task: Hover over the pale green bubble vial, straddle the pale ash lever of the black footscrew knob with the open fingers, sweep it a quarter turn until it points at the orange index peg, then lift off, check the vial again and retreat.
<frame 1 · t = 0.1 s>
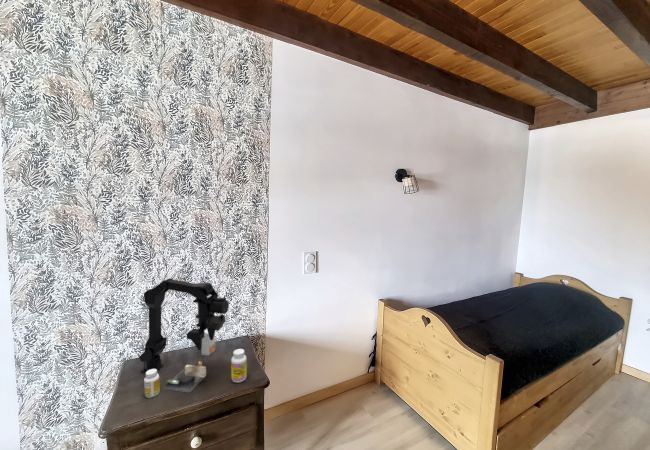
hand: (205, 344, 127), 15 cm above the nightstand, fingers open, 9 cm apart
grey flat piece: (186, 381, 123), on the nightstand
supplement bottle 2: (239, 379, 126), on the nightstand
skincare box: (208, 352, 147), on the nightstand
footscrew knob: (191, 372, 122), point 5 cm above the nightstand, hinge at 0.0°
supplement bottle: (152, 394, 115), on the nightstand
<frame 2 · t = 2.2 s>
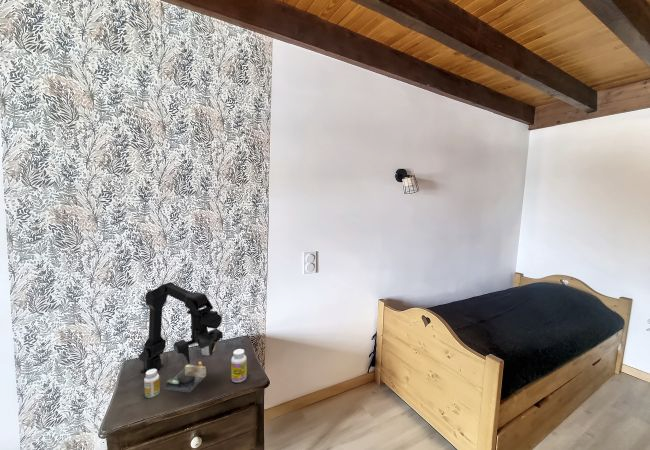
hand: (199, 359, 120), 12 cm above the nightstand, fingers open, 9 cm apart
nothing on the nightstand moved.
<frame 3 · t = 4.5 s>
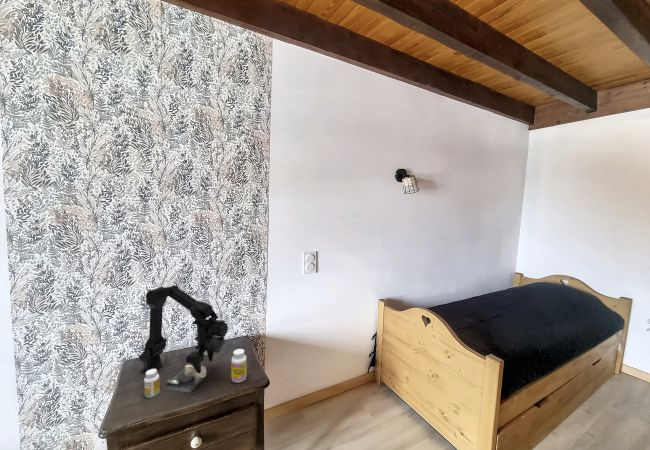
hand: (205, 366, 125), 5 cm above the nightstand, fingers open, 9 cm apart
footscrew knob: (191, 372, 122), point 5 cm above the nightstand, hinge at 0.0°, touching gripper
everything else where it was.
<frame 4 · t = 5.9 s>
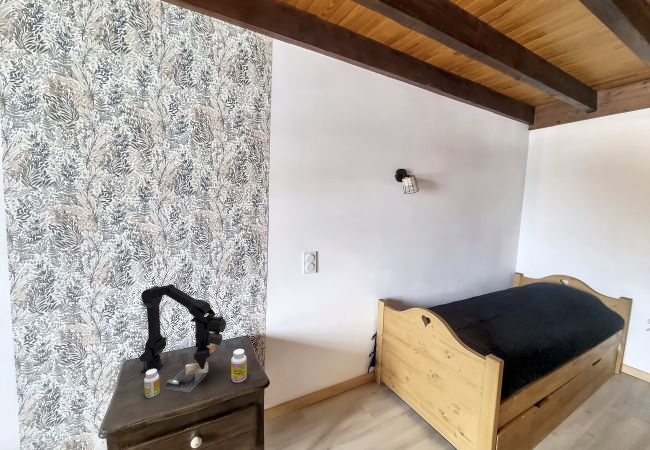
hand: (203, 363, 128), 5 cm above the nightstand, fingers open, 9 cm apart
footscrew knob: (192, 371, 123), point 5 cm above the nightstand, hinge at 23.7°, touching gripper
everything else where it was.
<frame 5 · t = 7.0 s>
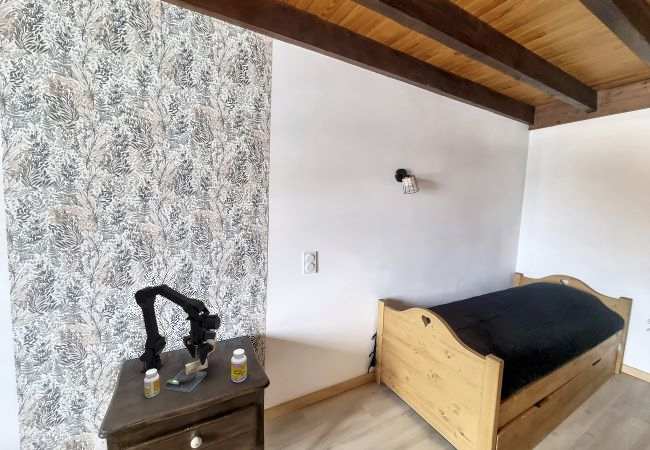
hand: (198, 361, 130), 5 cm above the nightstand, fingers open, 9 cm apart
footscrew knob: (192, 369, 124), point 5 cm above the nightstand, hinge at 50.4°, touching gripper
everything else where it was.
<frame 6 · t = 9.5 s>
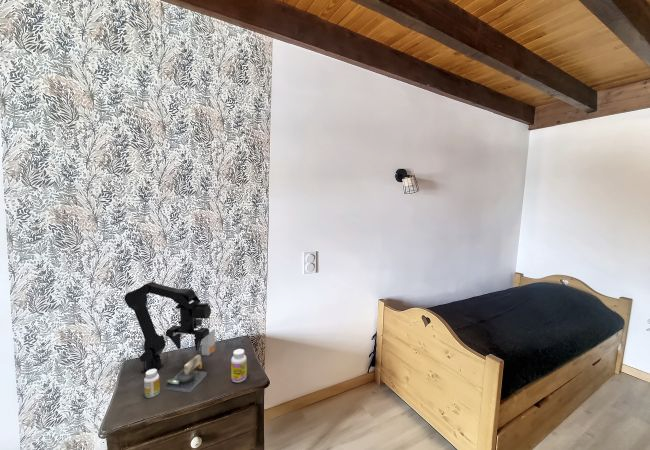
hand: (188, 349, 130), 11 cm above the nightstand, fingers open, 9 cm apart
footscrew knob: (190, 368, 125), point 5 cm above the nightstand, hinge at 86.6°
everything else where it was.
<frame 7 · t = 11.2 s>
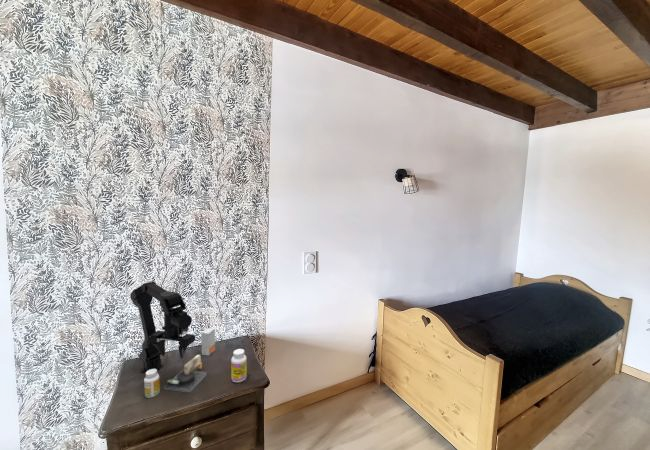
hand: (172, 356, 122), 12 cm above the nightstand, fingers open, 9 cm apart
nothing on the nightstand moved.
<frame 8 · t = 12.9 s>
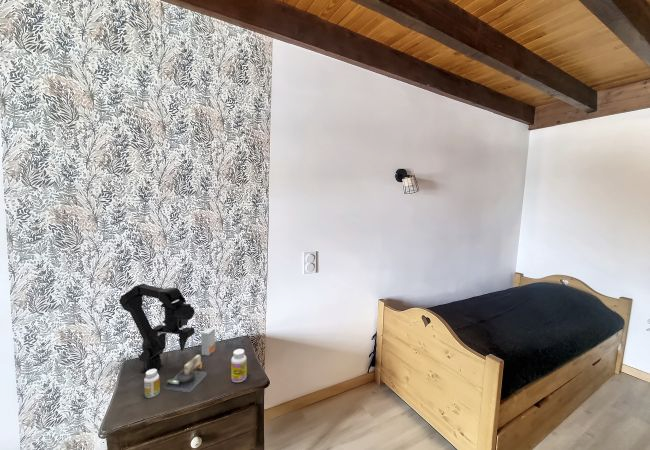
hand: (173, 349, 127), 12 cm above the nightstand, fingers open, 9 cm apart
nothing on the nightstand moved.
at the end: footscrew knob at +87° (first picture: +0°); the gripper is holding nothing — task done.
